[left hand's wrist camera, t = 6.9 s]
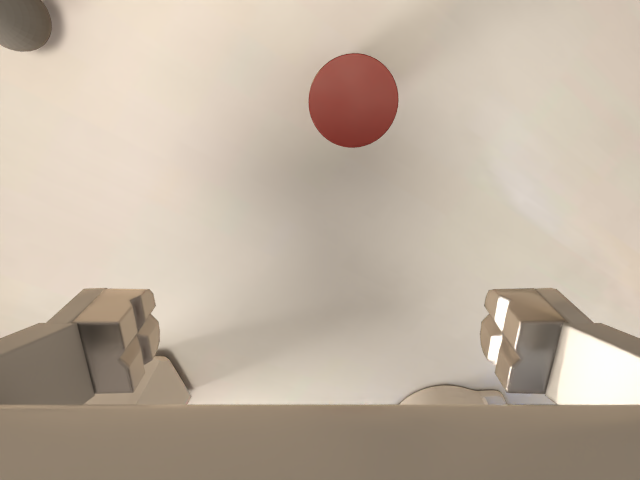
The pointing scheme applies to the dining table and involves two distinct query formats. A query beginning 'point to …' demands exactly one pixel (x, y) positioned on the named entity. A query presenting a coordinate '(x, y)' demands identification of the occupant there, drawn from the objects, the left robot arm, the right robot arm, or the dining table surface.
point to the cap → (353, 100)
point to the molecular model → (24, 24)
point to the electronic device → (150, 388)
